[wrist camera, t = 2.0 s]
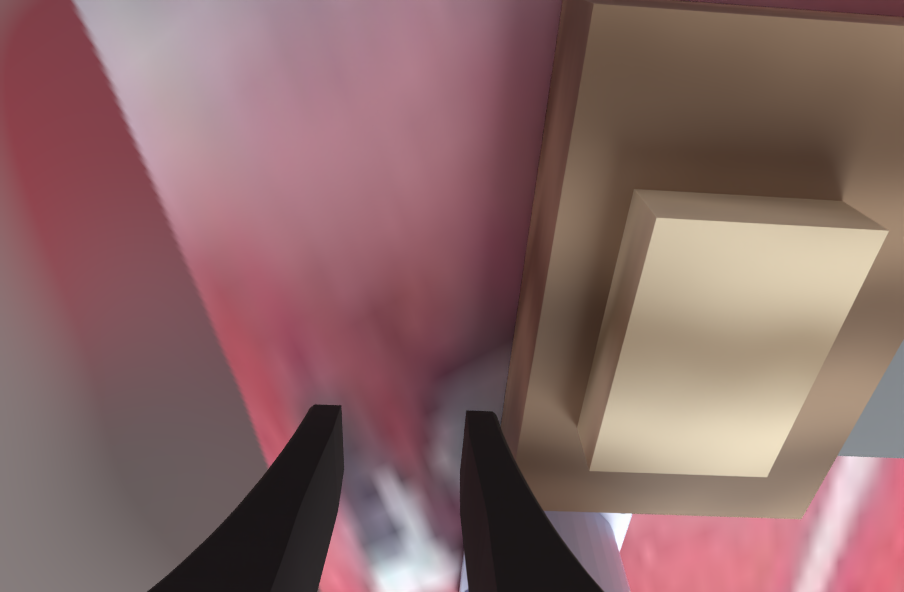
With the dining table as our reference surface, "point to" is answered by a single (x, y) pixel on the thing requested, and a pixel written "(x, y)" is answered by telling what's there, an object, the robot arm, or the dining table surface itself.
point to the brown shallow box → (702, 171)
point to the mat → (881, 417)
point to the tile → (718, 328)
